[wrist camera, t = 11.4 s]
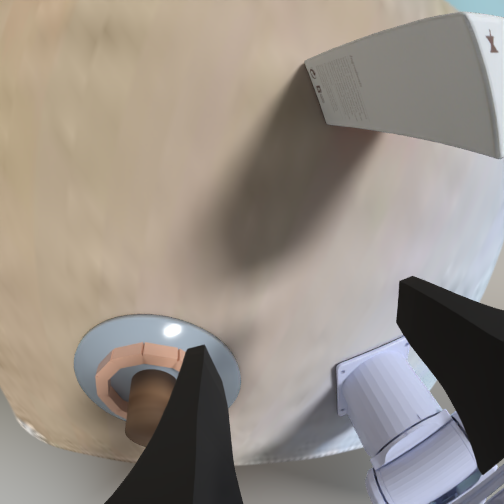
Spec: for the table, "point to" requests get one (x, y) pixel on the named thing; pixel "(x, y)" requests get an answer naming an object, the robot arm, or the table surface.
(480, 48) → the skincare box
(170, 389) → the brown rounded cylinder
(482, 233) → the table surface
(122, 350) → the ring dish
